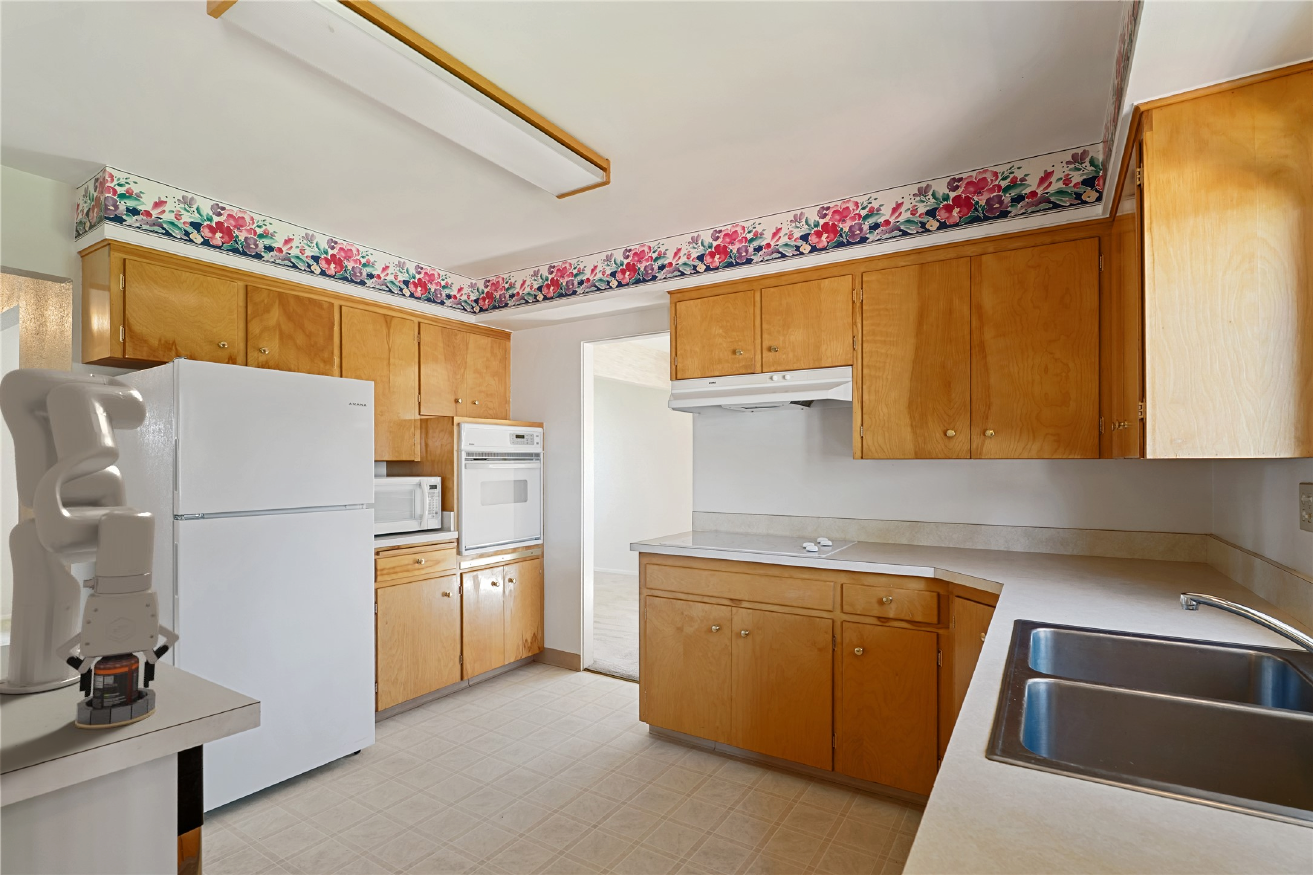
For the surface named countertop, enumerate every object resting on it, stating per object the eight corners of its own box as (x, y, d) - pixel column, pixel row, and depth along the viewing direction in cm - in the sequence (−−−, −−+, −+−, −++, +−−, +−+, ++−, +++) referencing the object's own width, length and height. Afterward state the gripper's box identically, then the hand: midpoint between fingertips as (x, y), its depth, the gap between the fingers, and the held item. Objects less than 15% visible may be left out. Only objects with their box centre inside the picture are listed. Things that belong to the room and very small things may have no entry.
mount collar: (96, 707, 113) (97, 689, 113) (166, 702, 116) (167, 685, 116) (59, 731, 103) (60, 712, 103) (137, 726, 106) (138, 707, 106)
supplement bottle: (132, 703, 113) (136, 638, 114) (141, 712, 110) (145, 645, 110) (87, 713, 109) (91, 644, 109) (95, 723, 105) (99, 652, 105)
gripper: (51, 593, 101) (44, 708, 101) (188, 582, 112) (182, 686, 112) (56, 585, 107) (49, 693, 107) (185, 575, 118) (180, 674, 118)
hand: (117, 689), depth 109 cm, fingers open, 7 cm apart
